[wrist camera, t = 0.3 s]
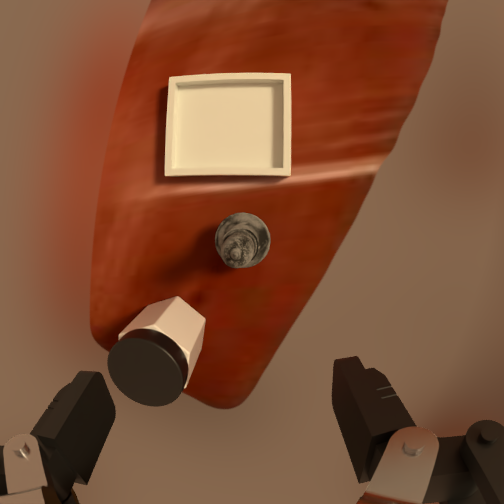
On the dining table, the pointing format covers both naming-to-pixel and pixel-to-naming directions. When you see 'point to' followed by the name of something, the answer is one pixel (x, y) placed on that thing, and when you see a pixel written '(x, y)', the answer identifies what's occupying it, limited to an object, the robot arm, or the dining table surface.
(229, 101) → the tray
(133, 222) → the dining table surface
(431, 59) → the dining table surface
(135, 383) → the jar
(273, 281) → the dining table surface
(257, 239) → the salt shaker
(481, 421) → the robot arm
